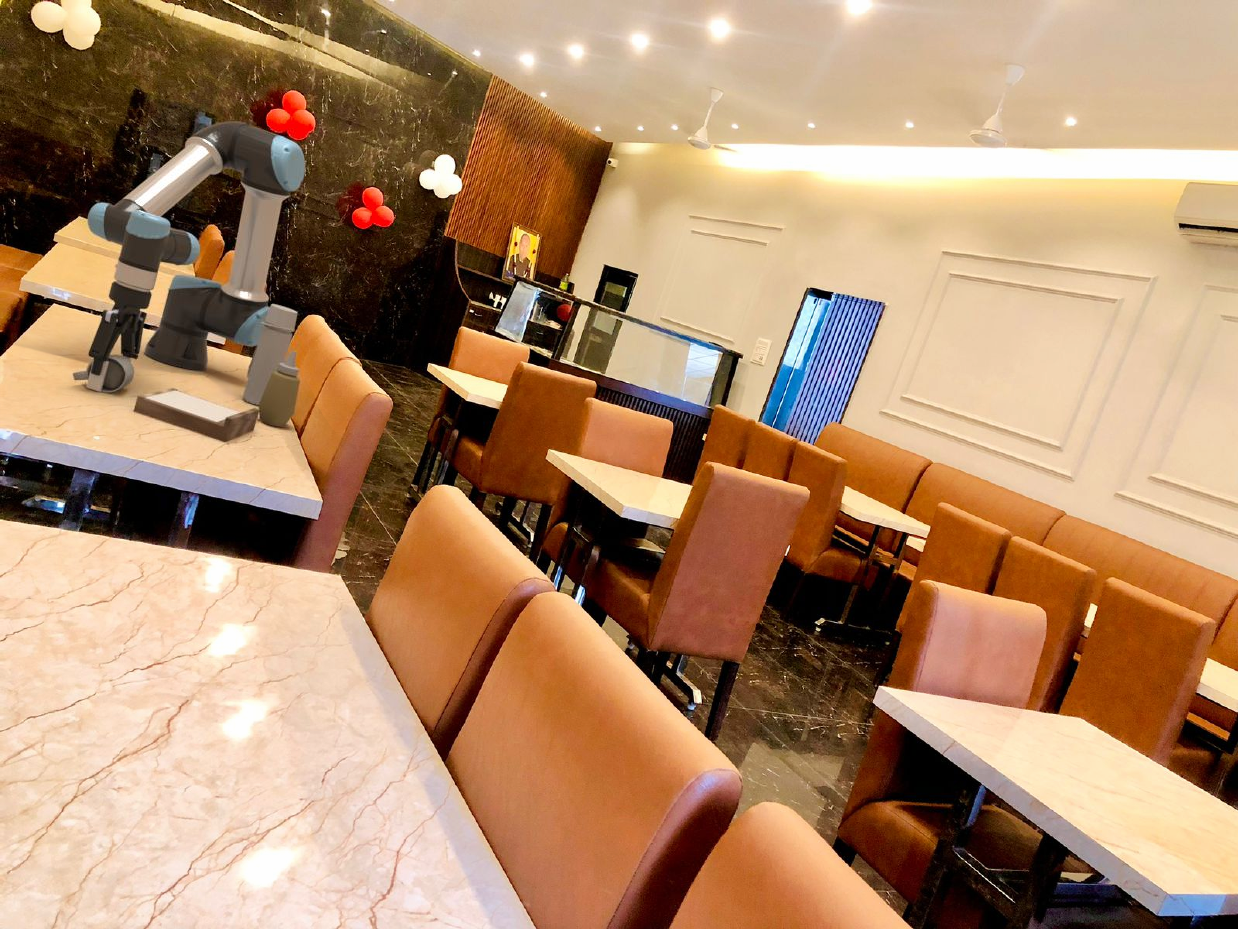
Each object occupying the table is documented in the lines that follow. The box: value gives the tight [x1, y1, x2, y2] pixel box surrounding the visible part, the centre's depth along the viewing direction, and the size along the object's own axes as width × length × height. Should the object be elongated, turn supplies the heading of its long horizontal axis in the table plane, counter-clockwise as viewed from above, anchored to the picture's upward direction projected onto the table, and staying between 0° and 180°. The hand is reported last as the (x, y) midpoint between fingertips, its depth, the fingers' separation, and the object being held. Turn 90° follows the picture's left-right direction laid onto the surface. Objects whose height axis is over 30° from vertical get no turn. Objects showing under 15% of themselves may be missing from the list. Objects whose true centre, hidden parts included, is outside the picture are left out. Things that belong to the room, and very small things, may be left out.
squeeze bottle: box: [258, 350, 301, 428], centre depth 207 cm, size 8×8×18 cm
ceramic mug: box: [72, 354, 135, 394], centre depth 187 cm, size 11×8×8 cm
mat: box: [145, 390, 241, 423], centre depth 187 cm, size 14×15×1 cm
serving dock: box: [133, 387, 260, 443], centre depth 188 cm, size 16×19×5 cm
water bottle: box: [242, 303, 298, 406], centre depth 220 cm, size 9×8×25 cm
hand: (105, 386), depth 188 cm, fingers open, 9 cm apart
